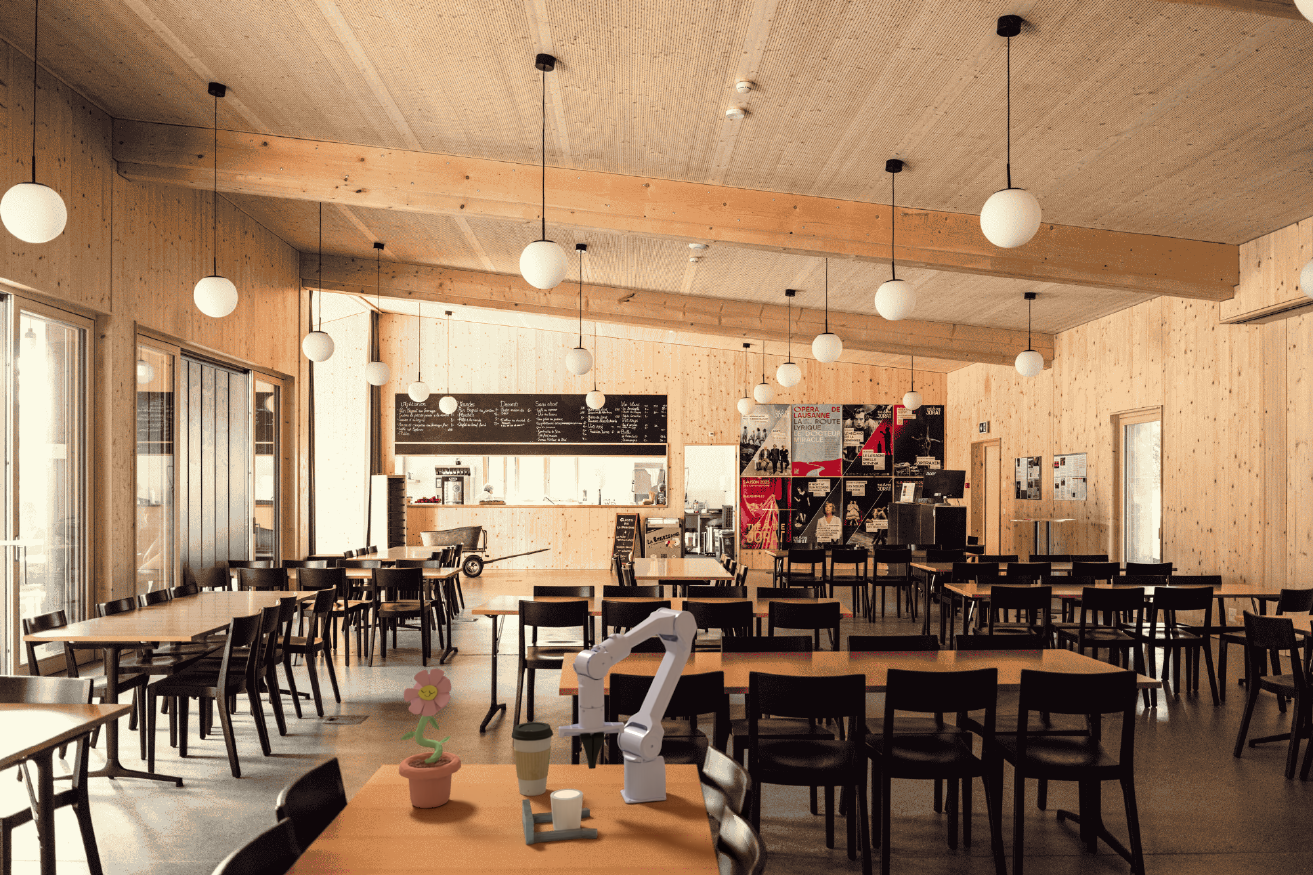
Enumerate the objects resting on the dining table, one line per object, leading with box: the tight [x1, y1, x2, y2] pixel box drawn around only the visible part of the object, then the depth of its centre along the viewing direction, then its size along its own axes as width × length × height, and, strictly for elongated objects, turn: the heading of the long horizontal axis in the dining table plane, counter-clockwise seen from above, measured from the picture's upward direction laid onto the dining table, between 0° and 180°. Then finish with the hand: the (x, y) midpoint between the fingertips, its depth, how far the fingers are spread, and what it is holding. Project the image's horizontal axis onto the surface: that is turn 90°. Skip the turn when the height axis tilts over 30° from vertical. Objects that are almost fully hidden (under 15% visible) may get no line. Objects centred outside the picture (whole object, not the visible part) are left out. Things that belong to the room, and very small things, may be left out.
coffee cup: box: [511, 721, 554, 797], centre depth 209 cm, size 10×10×15 cm
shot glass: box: [549, 788, 584, 831], centre depth 186 cm, size 7×7×7 cm
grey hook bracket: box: [521, 798, 598, 845], centre depth 185 cm, size 15×14×4 cm
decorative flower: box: [398, 668, 462, 809], centre depth 203 cm, size 15×14×30 cm
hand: (591, 767), depth 196 cm, fingers closed
